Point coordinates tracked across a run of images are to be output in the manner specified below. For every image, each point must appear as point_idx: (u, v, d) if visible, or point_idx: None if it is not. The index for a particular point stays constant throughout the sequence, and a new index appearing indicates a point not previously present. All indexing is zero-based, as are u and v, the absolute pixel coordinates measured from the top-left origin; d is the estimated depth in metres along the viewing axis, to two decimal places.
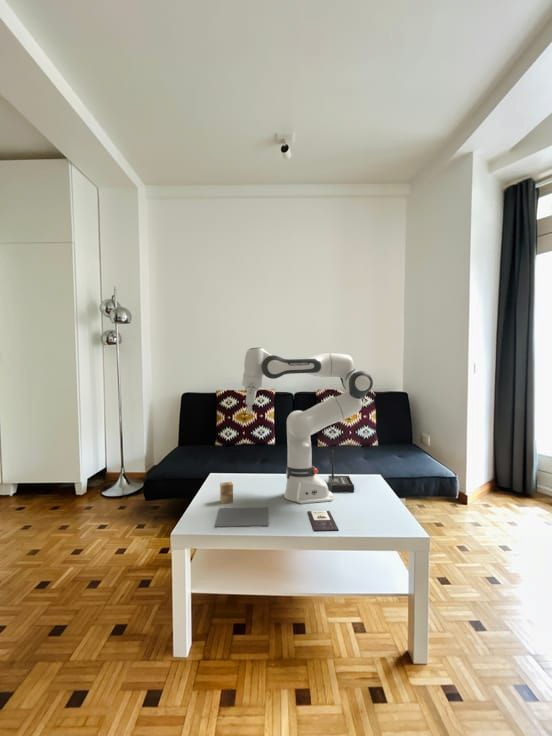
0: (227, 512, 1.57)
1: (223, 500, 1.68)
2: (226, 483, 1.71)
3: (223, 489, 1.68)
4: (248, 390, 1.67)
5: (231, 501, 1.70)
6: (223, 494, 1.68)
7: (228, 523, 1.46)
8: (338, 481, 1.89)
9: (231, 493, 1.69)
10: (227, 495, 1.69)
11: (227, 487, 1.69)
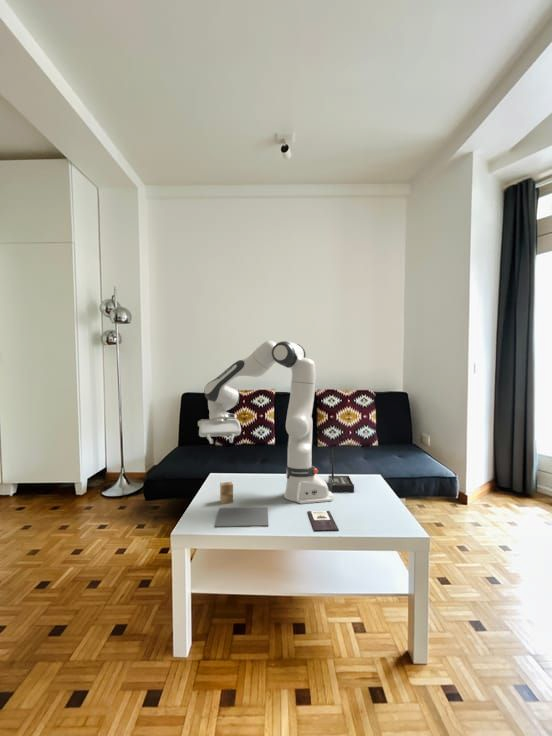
0: (227, 512, 1.57)
1: (223, 500, 1.68)
2: (226, 483, 1.71)
3: (223, 489, 1.68)
4: None
5: (231, 501, 1.70)
6: (223, 494, 1.68)
7: (228, 523, 1.46)
8: (338, 481, 1.89)
9: (231, 493, 1.69)
10: (227, 495, 1.69)
11: (227, 487, 1.69)
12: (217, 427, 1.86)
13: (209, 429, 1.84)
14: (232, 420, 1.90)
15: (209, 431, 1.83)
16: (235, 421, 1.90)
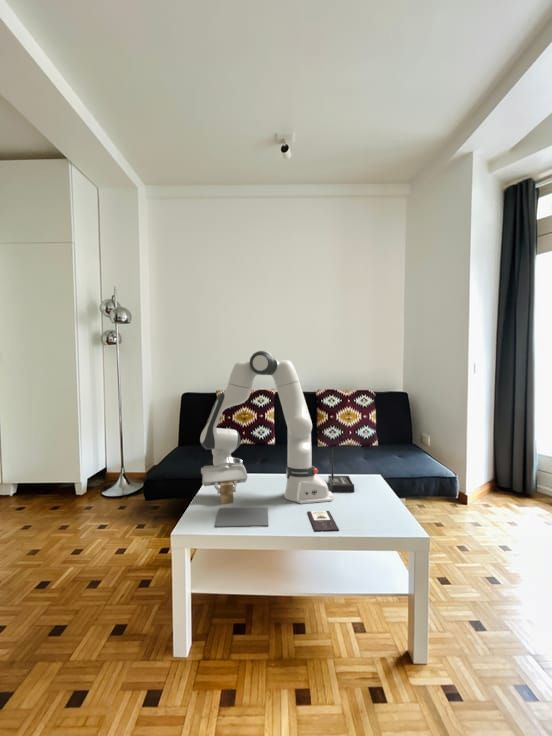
0: (227, 512, 1.57)
1: (223, 500, 1.68)
2: (226, 483, 1.71)
3: (223, 489, 1.68)
4: None
5: (231, 501, 1.70)
6: (223, 494, 1.68)
7: (228, 523, 1.46)
8: (338, 481, 1.89)
9: (231, 493, 1.69)
10: (227, 495, 1.69)
11: (227, 487, 1.69)
12: (222, 475, 1.74)
13: (213, 478, 1.72)
14: (237, 466, 1.78)
15: (213, 480, 1.71)
16: (241, 467, 1.78)
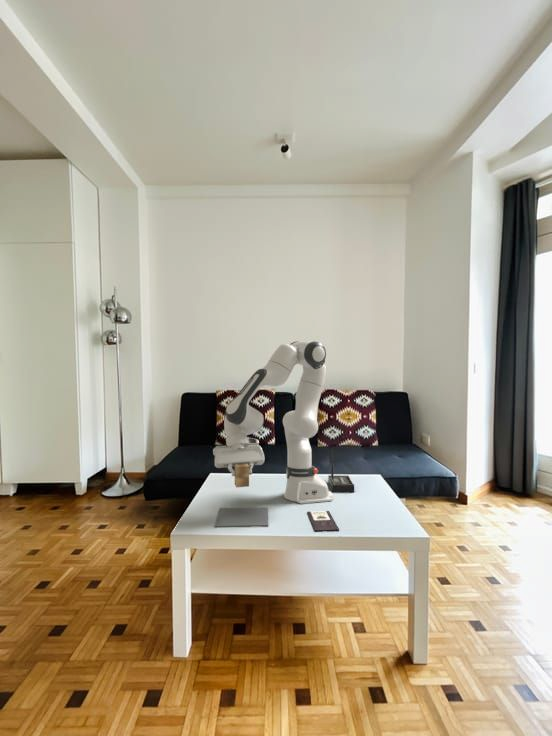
0: (227, 512, 1.57)
1: (238, 483, 1.50)
2: (241, 465, 1.53)
3: (238, 471, 1.50)
4: None
5: (247, 485, 1.51)
6: (238, 477, 1.50)
7: (228, 523, 1.46)
8: (338, 481, 1.89)
9: (246, 476, 1.51)
10: (242, 478, 1.50)
11: (242, 469, 1.50)
12: (236, 456, 1.55)
13: (226, 459, 1.53)
14: (253, 446, 1.59)
15: (227, 461, 1.53)
16: (257, 447, 1.59)
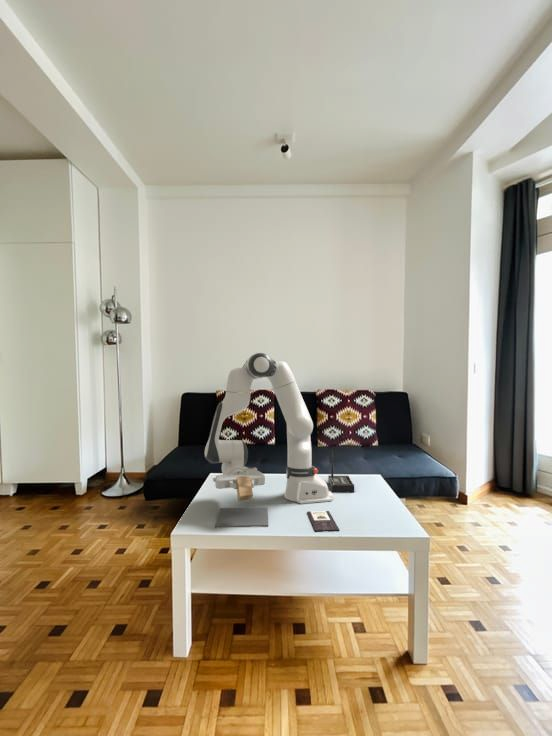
0: (227, 512, 1.57)
1: (241, 492, 1.46)
2: None
3: (239, 480, 1.49)
4: None
5: (250, 493, 1.47)
6: (240, 486, 1.48)
7: (228, 523, 1.46)
8: (338, 481, 1.89)
9: (249, 485, 1.49)
10: (245, 487, 1.48)
11: (243, 478, 1.50)
12: (236, 476, 1.57)
13: (226, 478, 1.54)
14: (252, 471, 1.62)
15: (227, 478, 1.53)
16: (256, 471, 1.62)
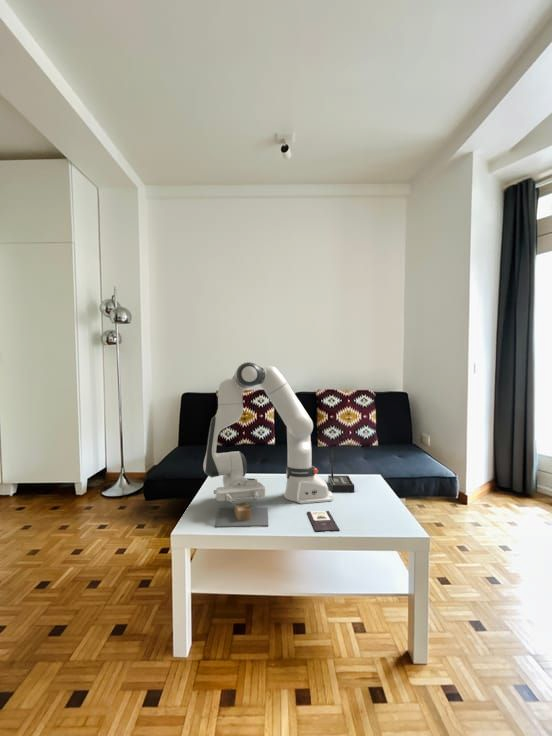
0: (227, 512, 1.57)
1: (239, 509, 1.50)
2: None
3: (237, 505, 1.54)
4: None
5: (249, 509, 1.50)
6: (238, 507, 1.52)
7: (228, 523, 1.46)
8: (338, 481, 1.89)
9: (246, 506, 1.53)
10: (243, 507, 1.52)
11: (241, 504, 1.55)
12: (236, 488, 1.57)
13: (227, 490, 1.54)
14: (253, 482, 1.62)
15: (227, 491, 1.54)
16: (256, 483, 1.62)
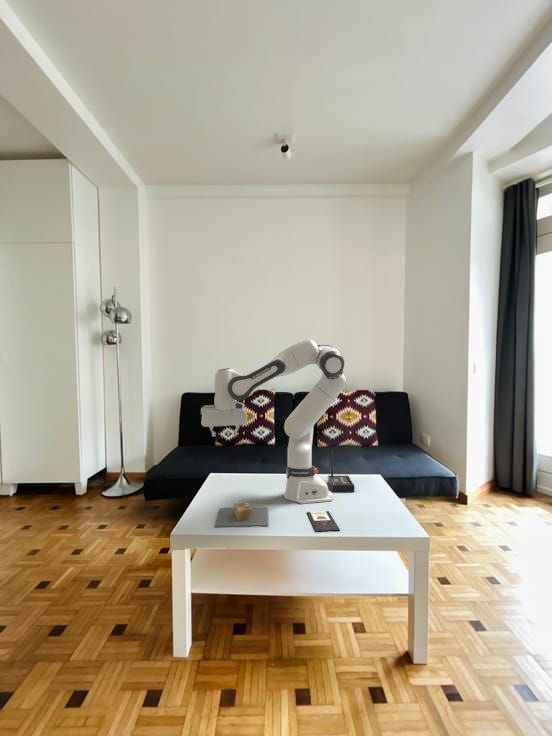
0: (227, 512, 1.57)
1: (239, 509, 1.50)
2: None
3: (237, 505, 1.54)
4: None
5: (249, 509, 1.50)
6: (238, 507, 1.52)
7: (228, 523, 1.46)
8: (338, 481, 1.89)
9: (246, 506, 1.53)
10: (243, 507, 1.52)
11: (241, 504, 1.55)
12: (221, 419, 1.69)
13: (212, 422, 1.68)
14: (239, 411, 1.71)
15: (212, 424, 1.68)
16: (242, 412, 1.72)
